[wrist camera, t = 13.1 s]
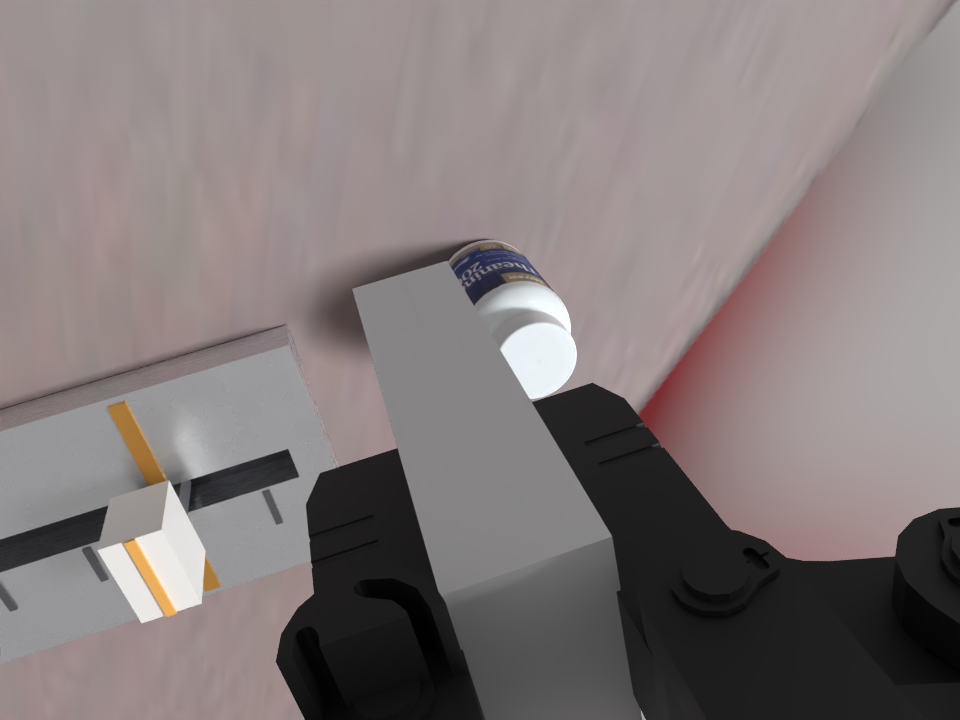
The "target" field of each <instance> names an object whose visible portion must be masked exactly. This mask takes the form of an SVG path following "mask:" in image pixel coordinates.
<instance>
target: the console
mask: <svg viewBox="0 0 960 720" xmlns="http://www.w3.org/2000/svg"><path fill="white" fill-rule="evenodd" d="M337 467H340V466H339V463H338V460H337V458H336V455H335V452H334V450H333V447H332V444H331V442H330V439H329V436H328V434H327V431H326V428H325V426H324V423H323V420H322V418H321V415H320V412H319V410H318V407H317V404H316V401H315V399H314V396H313V393H312V391H311V388H310V385H309V383H308V380H307V377H306V375H305V372H304V369H303V367H302V364H301V361H300V359H299V356H298V353H297V351H296V348H295V345H294V343H293V340H292V337H291V334H290V332H289V329H288V326H287V325H284V326H280V327H277V328H274V329H270V330H267V331H264V332H260V333H257V334H253V335H250V336H247V337H243V338H240V339H237V340H233V341H230V342H227V343H223V344H220V345H216V346H213V347H210V348H206V349H203V350H200V351H196V352H193V353H190V354H186V355H183V356H179V357H176V358H173V359H169V360H166V361H163V362H159V363H156V364H153V365H149V366H146V367H142V368H139V369H136V370H132V371H129V372H126V373H122V374H119V375H116V376H112V377H109V378H105V379H102V380H99V381H95V382H92V383H89V384H85V385H82V386H79V387H75V388H72V389H68V390H65V391H62V392H58V393H55V394H52V395H48V396H45V397H42V398H38V399H35V400H31V401H28V402H25V403H21V404H18V405H15V406H11V407H8V408H5V409H1V410H0V664H2V663H5V662H8V661H11V660H14V659H17V658H20V657H23V656H26V655H29V654H32V653H35V652H38V651H41V650H44V649H47V648H50V647H53V646H56V645H59V644H62V643H65V642H68V641H71V640H74V639H77V638H80V637H83V636H86V635H89V634H92V633H95V632H98V631H101V630H104V629H107V628H110V627H113V626H116V625H119V624H122V623H125V622H128V621H131V620H134V619H137V618H138V616H137V615H136V613H135V611H134V610H133V608H132V607H131V605H130V603H129V602H128V600H127V598H126V597H125V595H124V593H123V592H122V590H121V589H120V587H119V585H118V584H117V582H116V580H115V579H114V577H113V575H112V574H111V572H110V570H109V569H108V567H107V566H106V564H105V562H104V561H103V559H102V557H101V556H100V554H99V552H98V551H97V549H98V545H99V541H100V537H101V533H102V529H103V525H104V521H105V517H106V513H107V509H108V505H109V501H110V498H113V497H117V496H120V495H123V494H126V493H129V492H133V491H136V490H139V489H142V488H145V487H148V486H152V485H155V484H158V483H161V482H164V481H168V480H169V481H170V483H171V485H175V484H178V483H181V482H184V481H188V480H190V481H191V490H190V499H189V508H188V518H189V520H190V522H191V524H192V526H193V528H194V529H195V531H196V533H197V535H198V537H199V539H200V541H201V543H202V545H203V547H204V549H205V564H204V578H203V591H202V597H203V596H206V595H209V594H212V593H215V592H218V591H221V590H224V589H227V588H230V587H233V586H236V585H239V584H242V583H245V582H248V581H251V580H254V579H257V578H260V577H263V576H266V575H269V574H272V573H275V572H278V571H281V570H284V569H287V568H290V567H293V566H296V565H299V564H302V563H305V562H308V561H311V555H310V545H309V542H310V538H309V534H308V524H307V513H306V503H307V501H308V498H309V496H310V494H311V492H312V490H313V487H314V485H315V483H316V481H317V479H318V476H319V474H320V473H322V472H325V471H328V470H331V469H334V468H337Z"/></svg>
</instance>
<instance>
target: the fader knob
mask: <svg viewBox="0 0 960 720" xmlns="http://www.w3.org/2000/svg"><path fill="white" fill-rule="evenodd" d="M190 490H191V481H190V480H188V481H184V482H181V483H178V484H175V485H171V483H170V481H169V480H168V481H164V482H161V483H158V484H155V485H152V486H148V487H145V488H142V489H139V490H136V491H133V492H129V493H126V494H123V495H120V496H117V497H113V498H110V501H109V505H108V509H107V513H106V517H105V521H104V525H103V529H102V533H101V537H100V541H99V545H98V549H97V551H98V552H99V554H100V556H101V557H102V559H103V561H104V562H105V564H106V566H107V567H108V569H109V570H110V572H111V574H112V575H113V577H114V579H115V580H116V582H117V584H118V585H119V587H120V589H121V590H122V592H123V593H124V595H125V597H126V598H127V600H128V602H129V603H130V605H131V607H132V608H133V610H134V611H135V613H136V615H137V616H138V618H139V620H140V621H141V623H144V622H147V621H150V620H153V619H156V618H159V617H162V616H165V615H166V617H168V616H171V615H174V614H177V611H180V610H183V609H186V608H189V607H192V606H195V605H198V604H201V603H202V591H203V578H204V564H205V549H204V547H203V545H202V543H201V541H200V539H199V537H198V535H197V533H196V531H195V529H194V528H193V526H192V524H191V522H190V520H189V518H188V508H189V499H190Z"/></svg>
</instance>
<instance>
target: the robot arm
mask: <svg viewBox="0 0 960 720" xmlns="http://www.w3.org/2000/svg"><path fill="white" fill-rule="evenodd" d="M352 290H353V293H354V297H355V300H356V304H357V307H358V311H359V314H360V318H361V322H362V325H363V329H364V332H365V336H366V339H367V343H368V346H369V350H370V353H371V357H372V360H373V364H374V367H375V371H376V374H377V378H378V381H379V385H380V388H381V392H382V395H383V399H384V402H385V406H386V409H387V413H388V416H389V420H390V423H391V427H392V430H393V434H394V437H395V441H396V444H397V449H394V450H391V451H387V452H384V453H381V454H378V455H375V456H372V457H369V458H366V459H362V460H359V461H356V462H353V463H350V464H347V465H344V466H341V467H337V468H334V469H331V470H328V471H325V472H322V473H320V474H319V476H318V479H317V481H316V483H315V485H314V487H313V490H312V492H311V494H310V496H309V498H308V501H307V503H306V513H307V524H308V534H309V538H310V542H309V545H310V555H311V563H312V566H313V568H312V576H313V587H314V594H313V595H312V596H311V597H310V598H309V599H308V600H307V601H305V602H304V603H303V604H302V605H301V606H300V607H298V609H297V610H296V612H295V613H294V615H293V616H292V618H291V620H290V621H289V623H288V624H287V626H286V627H285V629H284V631H283V632H282V634H281V638H280V643H279V648H278V653H277V659H276V663H277V665H278V667H279V669H280V671H281V673H282V675H283V677H284V679H285V681H286V683H287V685H288V687H289V689H290V691H291V693H292V695H293V697H294V699H295V701H296V703H297V705H298V707H299V709H300V711H301V712H302V714H303V716H304V718H305V720H642V717H641V711H642V713H643V715H644V717H645V719H646V720H960V507H959V508H946V509H938V510H936V511H933V512H931V513H928V514H926V515H923V516H921V517H918V518H915V519H914V520H913V521H912V522H911V523H910V524H909V525H908V526H907V527H906V528H905V529H904V530H903V531H902V532H901V534H900V535H899V536H898V541H897V548H896V555H895V557H882V558H868V559H854V560H841V561H801V560H795V559H790V558H786V557H785V556H784V555H782V554H781V553H780V552H779V551H777V550H776V549H774V547H772V546H771V545H770V544H769V543H767V542H766V541H764V540H762V539H759V538H756V537H754V536H751V535H748V534H745V533H743V532H740V531H735V530H731V529H730V528H729V527H728V526H727V525H726V524H725V523H724V522H723V521H722V519H721V518H720V517H719V516H718V514H717V513H716V512H715V511H714V509H713V508H712V507H711V506H710V504H709V503H708V502H707V501H706V499H705V498H704V497H703V496H702V495H701V493H700V492H699V491H698V490H697V488H696V487H695V486H694V485H693V483H692V482H691V481H690V480H689V478H688V477H687V476H686V474H685V473H684V472H683V471H682V470H681V468H680V467H679V466H678V465H677V463H676V462H675V461H674V460H673V458H672V457H671V456H670V455H669V453H667V451H666V450H665V448H661V446H660V442H659V441H658V440H657V439H656V437H655V436H654V435H653V434H652V432H651V431H650V430H649V429H648V427H647V428H645V426H644V422H643V421H642V420H641V419H640V417H639V416H638V415H637V414H636V412H635V411H634V410H633V409H632V407H631V406H630V405H629V404H628V402H627V401H626V400H625V399H624V398H622V397H620V396H618V395H616V394H614V393H612V392H610V391H608V390H606V389H604V388H602V387H600V386H598V385H596V384H594V383H591V384H588V385H584V386H581V387H578V388H575V389H572V390H569V391H566V392H563V393H559V394H556V395H553V396H550V397H547V398H544V399H541V400H538V401H534V402H531V400H530V399H529V397H528V395H527V394H526V392H525V390H524V389H523V387H522V385H521V384H520V382H519V380H518V379H517V377H516V375H515V374H514V372H513V370H512V368H511V367H510V365H509V363H508V362H507V360H506V358H505V357H504V355H503V353H502V352H501V350H500V348H499V347H498V345H497V343H496V342H495V340H494V338H493V337H492V335H491V333H490V332H489V330H488V328H487V327H486V325H485V323H484V322H483V320H482V318H481V317H480V315H479V313H478V312H477V310H476V308H475V307H474V305H473V303H472V302H471V300H470V298H469V297H468V295H467V293H466V292H465V290H464V288H463V287H462V285H461V283H460V282H459V280H458V278H457V277H456V275H455V273H454V272H453V270H452V268H451V267H450V265H449V263H448V262H447V261H444V262H441V263H437V264H434V265H431V266H427V267H424V268H421V269H417V270H414V271H410V272H407V273H404V274H400V275H397V276H393V277H390V278H387V279H383V280H380V281H376V282H373V283H370V284H366V285H363V286H359V287H356V288H353V289H352ZM640 709H641V710H640Z"/></svg>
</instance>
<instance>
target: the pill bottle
mask: <svg viewBox="0 0 960 720" xmlns="http://www.w3.org/2000/svg"><path fill="white" fill-rule="evenodd" d="M448 263H449V265H450V267H451V268H452V270H453V272H454V273H455V275H456V277H457V278H458V280H459V282H460V283H461V285H462V287H463V288H464V290H465V292H466V293H467V295H468V297H469V298H470V300H471V302H472V303H473V305H474V307H475V308H476V310H477V312H478V313H479V315H480V317H481V318H482V320H483V322H484V323H485V325H486V327H487V328H488V330H489V332H490V333H491V335H492V337H493V338H494V340H495V342H496V343H497V345H498V347H499V348H500V350H501V352H502V353H503V355H504V357H505V358H506V360H507V362H508V363H509V365H510V367H511V368H512V370H513V372H514V374H515V375H516V377H517V379H518V380H519V382H520V384H521V385H522V387H523V389H524V390H525V392H526V394H527V395H528V397H529V399H535V398H541V397H544V396H547V395H549V394H551V393H553V392H554V391H556V390H558V389H559V388H560V387H561V386H562V385H563V384H564V383H565V382H566V381H567V380H568V378H569V377H570V375H571V374H572V372H573V370H574V367H575V363H576V357H577V353H576V346H575V343H574V340H573V338H572V337H571V335H570V334H571V324H570V318H569V315H568V312H567V309H566V307H565V305H564V304H563V302H562V301H561V299H560V298H559V297H558V295H557V294H556V293H555V292H554V291H553V290H552V289H551V288H550V286H549V285H548V284H547V283H546V282H545V280H544V279H543V278H542V277H541V276H540V275H539V273H538V272H537V271H536V270H535V269H534V267H533V266H532V265H531V264H530V262H529V261H528V260H527V259H526V258H525V256H524V255H522V253H521V252H520V251H518V250H517V249H516V248H515V247H513V246H511V245H509V244H507V243H505V242H501V241H496V240H484V241H477V242H474V243H471V244H469V245H467V246H465V247H463V248H462V249H460V250H459V251H458V252H456V253H455V254H454V255H453V256H452V257H451V258H450V259H449V261H448Z"/></svg>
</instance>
